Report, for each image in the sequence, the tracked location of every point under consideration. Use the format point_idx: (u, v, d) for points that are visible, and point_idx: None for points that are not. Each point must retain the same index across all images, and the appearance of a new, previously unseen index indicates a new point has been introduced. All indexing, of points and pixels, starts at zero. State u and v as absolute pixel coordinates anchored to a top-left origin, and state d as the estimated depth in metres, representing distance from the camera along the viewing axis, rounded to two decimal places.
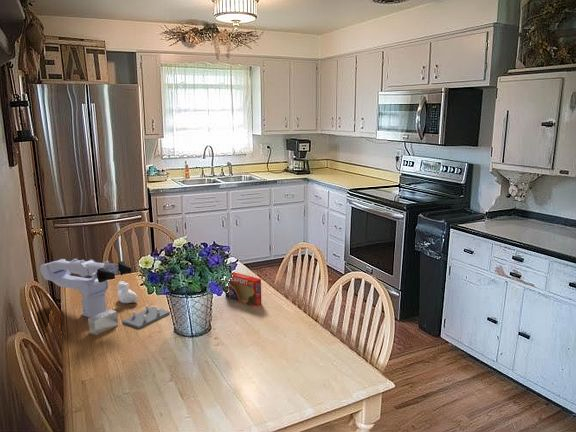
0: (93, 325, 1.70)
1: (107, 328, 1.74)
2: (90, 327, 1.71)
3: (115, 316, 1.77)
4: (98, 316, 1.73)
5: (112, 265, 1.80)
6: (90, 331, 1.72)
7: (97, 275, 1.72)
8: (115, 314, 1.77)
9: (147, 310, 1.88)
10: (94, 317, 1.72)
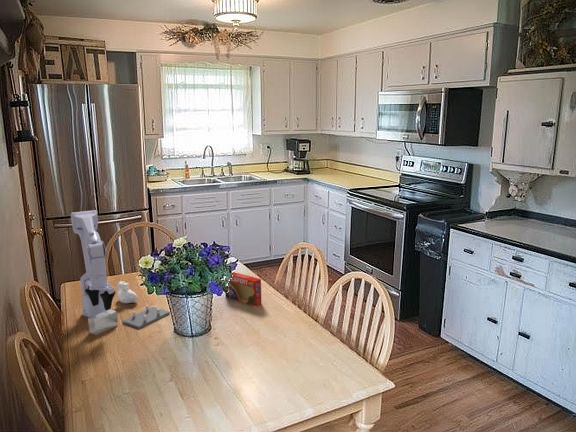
0: (93, 325, 1.70)
1: (107, 328, 1.74)
2: (90, 327, 1.71)
3: (115, 316, 1.77)
4: (98, 316, 1.73)
5: None
6: (90, 331, 1.72)
7: None
8: (115, 314, 1.77)
9: (147, 310, 1.88)
10: (94, 317, 1.72)
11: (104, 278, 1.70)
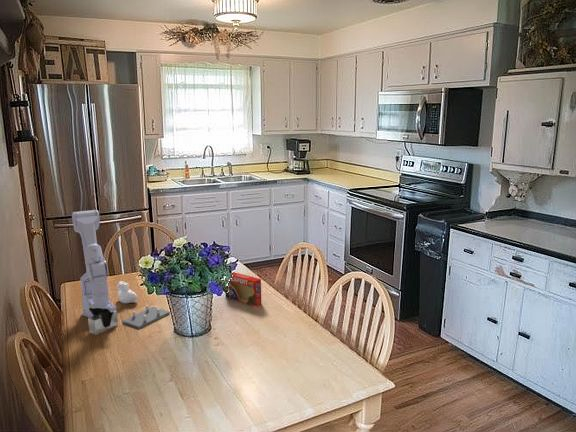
0: (93, 325, 1.70)
1: (107, 328, 1.74)
2: (90, 327, 1.71)
3: (115, 316, 1.77)
4: (98, 316, 1.73)
5: None
6: (90, 331, 1.72)
7: None
8: (115, 314, 1.77)
9: (147, 310, 1.88)
10: (94, 317, 1.72)
11: (106, 296, 1.71)
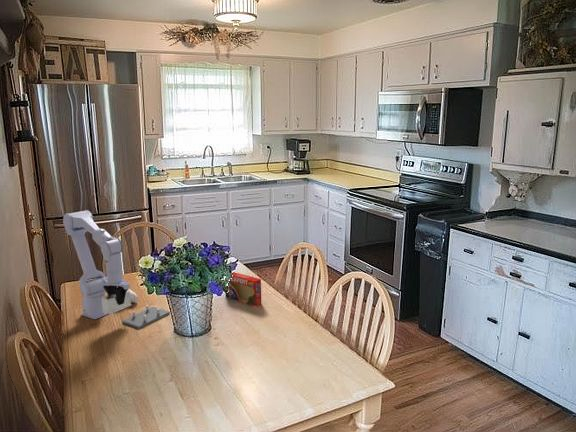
0: (106, 304, 1.71)
1: (120, 307, 1.75)
2: (103, 306, 1.72)
3: (128, 296, 1.78)
4: (112, 295, 1.74)
5: None
6: (103, 310, 1.73)
7: None
8: (128, 294, 1.78)
9: (147, 310, 1.88)
10: (107, 296, 1.73)
11: (120, 274, 1.73)
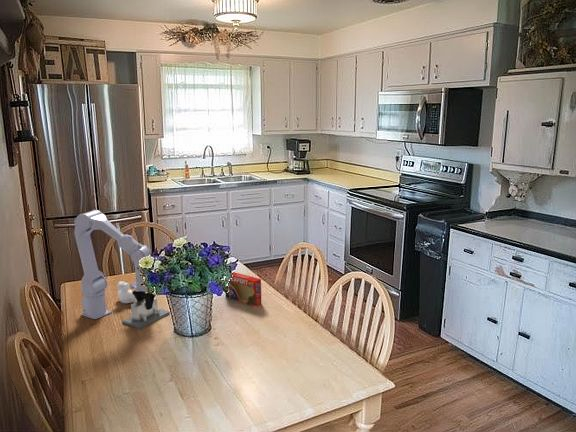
0: (136, 311, 1.78)
1: (148, 314, 1.82)
2: (133, 313, 1.79)
3: (155, 302, 1.85)
4: (140, 302, 1.80)
5: None
6: (133, 317, 1.80)
7: None
8: (155, 300, 1.85)
9: None
10: (136, 303, 1.80)
11: None
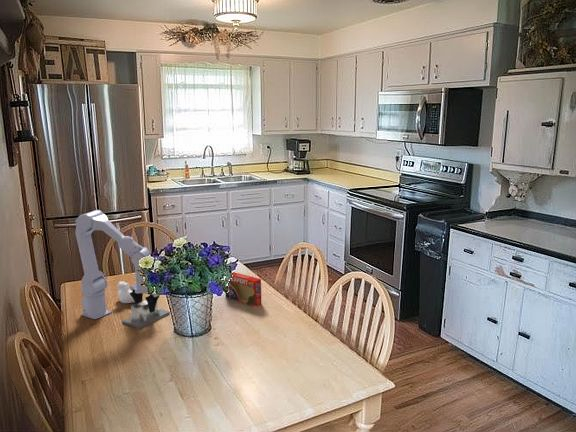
0: (136, 312, 1.78)
1: (148, 315, 1.82)
2: (133, 314, 1.79)
3: None
4: (140, 304, 1.81)
5: None
6: (133, 318, 1.80)
7: None
8: None
9: None
10: (136, 305, 1.80)
11: None
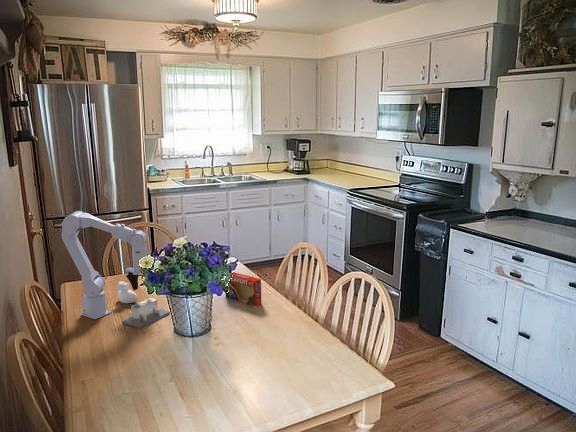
0: (136, 312, 1.78)
1: (148, 315, 1.82)
2: (133, 314, 1.79)
3: (155, 304, 1.85)
4: (140, 304, 1.81)
5: None
6: (133, 318, 1.80)
7: None
8: (155, 302, 1.85)
9: None
10: (136, 305, 1.80)
11: None
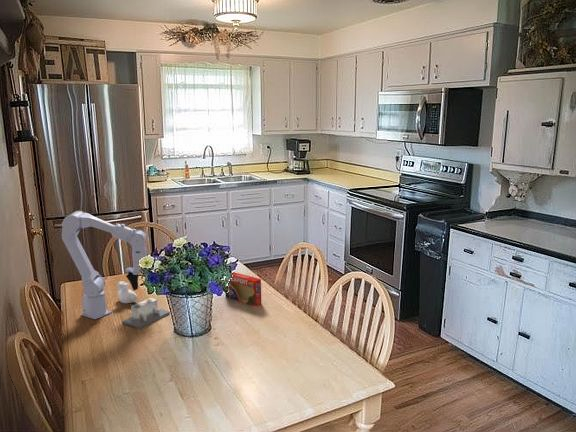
0: (136, 312, 1.78)
1: (148, 315, 1.82)
2: (133, 314, 1.79)
3: (155, 304, 1.85)
4: (140, 304, 1.81)
5: None
6: (133, 318, 1.80)
7: None
8: (155, 302, 1.85)
9: None
10: (136, 305, 1.80)
11: None
